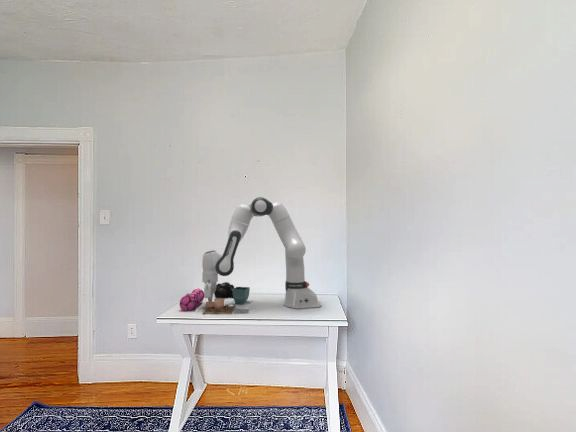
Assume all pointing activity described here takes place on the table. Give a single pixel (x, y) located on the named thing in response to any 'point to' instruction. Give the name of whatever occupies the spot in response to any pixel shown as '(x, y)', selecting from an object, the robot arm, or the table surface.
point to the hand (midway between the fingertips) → (210, 302)
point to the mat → (241, 311)
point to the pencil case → (191, 300)
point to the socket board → (219, 310)
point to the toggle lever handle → (216, 303)
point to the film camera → (224, 290)
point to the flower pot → (240, 294)
